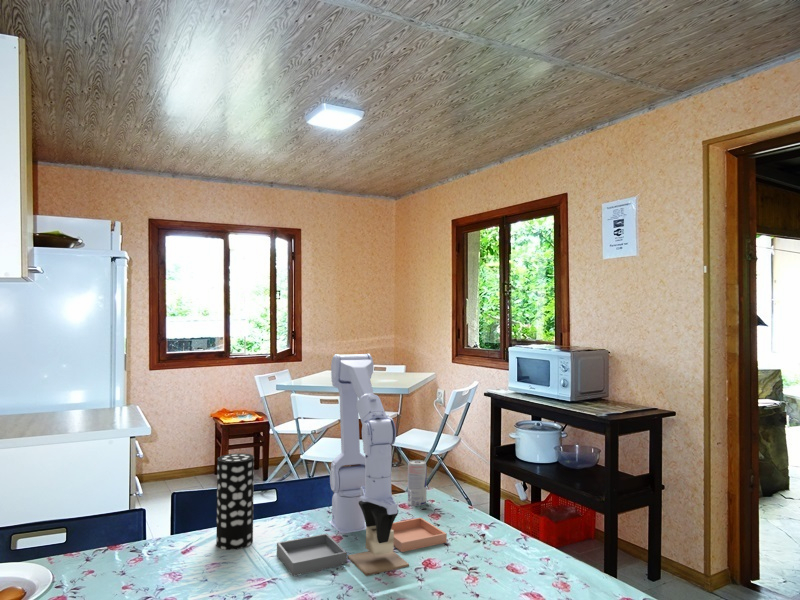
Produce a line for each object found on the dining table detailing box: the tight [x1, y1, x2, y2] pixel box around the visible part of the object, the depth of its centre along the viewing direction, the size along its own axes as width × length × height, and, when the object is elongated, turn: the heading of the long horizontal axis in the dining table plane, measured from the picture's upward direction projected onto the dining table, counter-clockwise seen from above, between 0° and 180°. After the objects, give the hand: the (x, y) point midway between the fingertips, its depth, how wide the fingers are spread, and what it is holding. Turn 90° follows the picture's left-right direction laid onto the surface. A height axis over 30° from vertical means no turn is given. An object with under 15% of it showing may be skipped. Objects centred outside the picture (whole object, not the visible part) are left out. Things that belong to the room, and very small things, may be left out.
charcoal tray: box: [276, 533, 348, 577], centre depth 126 cm, size 12×12×3 cm
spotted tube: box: [215, 452, 255, 551], centre depth 135 cm, size 8×8×20 cm
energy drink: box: [407, 459, 428, 507], centre depth 163 cm, size 5×5×12 cm
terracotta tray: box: [391, 517, 447, 553], centre depth 136 cm, size 12×12×3 cm
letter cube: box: [365, 526, 394, 556], centre depth 123 cm, size 4×4×5 cm
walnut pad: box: [347, 550, 410, 577], centre depth 123 cm, size 10×10×1 cm
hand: (377, 537), depth 123 cm, fingers closed on letter cube, 4 cm apart
